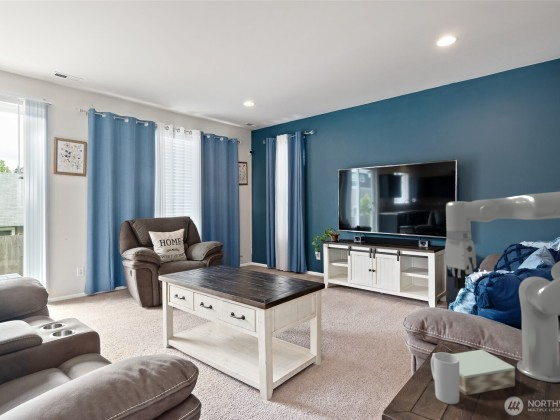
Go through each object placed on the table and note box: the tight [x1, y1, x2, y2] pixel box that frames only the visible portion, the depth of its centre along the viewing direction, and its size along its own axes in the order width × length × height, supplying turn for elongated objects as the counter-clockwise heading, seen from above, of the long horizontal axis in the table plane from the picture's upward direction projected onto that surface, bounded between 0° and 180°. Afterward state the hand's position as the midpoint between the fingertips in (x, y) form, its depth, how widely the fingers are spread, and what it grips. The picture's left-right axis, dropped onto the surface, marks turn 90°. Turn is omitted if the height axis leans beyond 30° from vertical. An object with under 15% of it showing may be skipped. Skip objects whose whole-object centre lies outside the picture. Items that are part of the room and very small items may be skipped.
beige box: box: [459, 370, 516, 396], centre depth 104 cm, size 18×13×5 cm
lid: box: [452, 349, 516, 379], centre depth 104 cm, size 18×12×1 cm
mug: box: [430, 351, 460, 405], centre depth 97 cm, size 10×7×12 cm, turn 12°
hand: (459, 287), depth 114 cm, fingers closed
